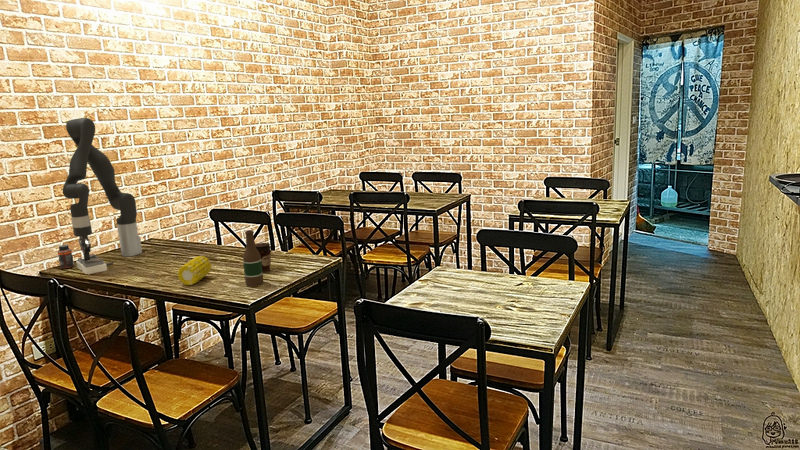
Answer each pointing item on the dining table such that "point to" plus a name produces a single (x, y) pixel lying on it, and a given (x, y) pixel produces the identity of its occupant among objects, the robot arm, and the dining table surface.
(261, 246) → the coffee cup
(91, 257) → the rocker
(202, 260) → the food
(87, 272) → the rocker switch panel
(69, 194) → the robot arm
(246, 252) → the beer bottle
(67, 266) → the supplement bottle
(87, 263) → the rocker
